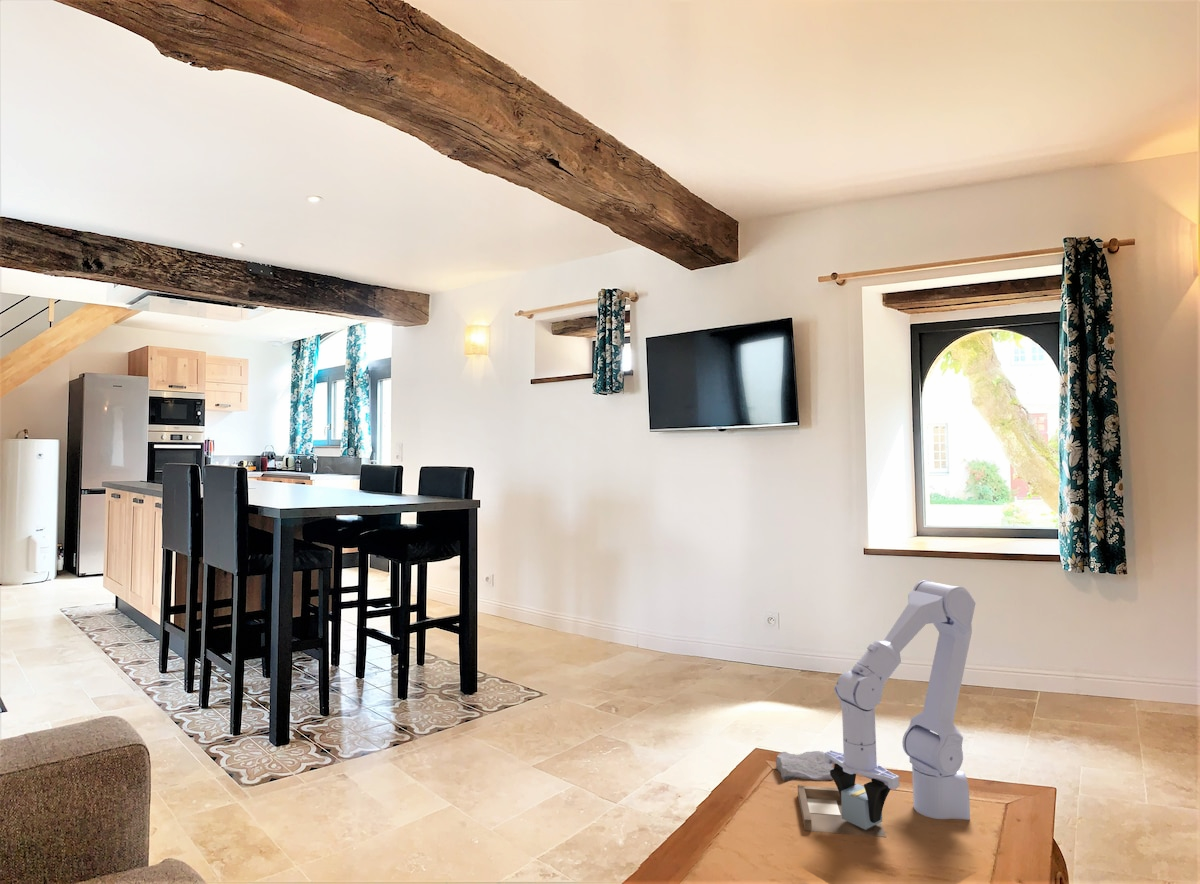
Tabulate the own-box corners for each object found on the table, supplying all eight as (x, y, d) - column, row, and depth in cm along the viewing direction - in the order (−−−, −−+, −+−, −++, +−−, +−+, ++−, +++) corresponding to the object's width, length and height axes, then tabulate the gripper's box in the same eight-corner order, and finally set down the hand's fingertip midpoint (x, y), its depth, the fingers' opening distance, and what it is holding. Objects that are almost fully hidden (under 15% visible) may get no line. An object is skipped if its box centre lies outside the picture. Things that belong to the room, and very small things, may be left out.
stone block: (840, 795, 148) (828, 766, 158) (839, 774, 147) (828, 746, 157) (782, 795, 149) (775, 766, 159) (782, 774, 148) (774, 747, 158)
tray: (871, 806, 139) (871, 790, 139) (886, 843, 125) (886, 825, 125) (798, 801, 141) (797, 785, 141) (804, 837, 127) (804, 819, 128)
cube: (858, 810, 133) (857, 783, 133) (882, 821, 129) (881, 793, 129) (841, 818, 130) (841, 790, 130) (865, 829, 126) (864, 800, 126)
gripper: (813, 732, 134) (815, 805, 133) (881, 757, 122) (884, 837, 121) (836, 724, 138) (839, 795, 137) (905, 747, 126) (907, 825, 125)
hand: (861, 814), depth 130 cm, fingers closed on cube, 5 cm apart
